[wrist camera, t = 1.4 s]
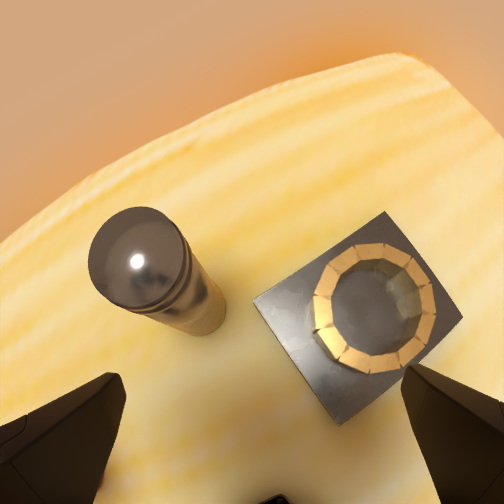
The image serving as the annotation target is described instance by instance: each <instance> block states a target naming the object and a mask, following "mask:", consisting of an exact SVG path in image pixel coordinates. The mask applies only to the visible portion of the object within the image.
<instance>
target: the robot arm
mask: <svg viewBox="0 0 504 504" xmlns="http://www.w3.org/2000/svg"><path fill="white" fill-rule="evenodd" d="M401 393H402V397H403V400H404V403H405V406H406V410H407V413H408V417H409V420H410V424H411V427H412V430H413V432H414V435H415V437H416V440H417V442H418V444H419V447H420V449H421V452H422V454H423V457H424V459H425V462H426V464H427V467H428V470H429V472H430V475H431V477H432V480H433V483H434V485H435V488H436V491H437V494H438V496H439V499H440V502H441V504H504V403H503V402H501V401H500V402H499V400H497V399H494V398H492V397H490V396H488V395H485V394H483V393H481V392H479V391H477V390H474V389H472V388H470V387H468V386H466V385H464V384H461V383H459V382H457V381H455V380H453V379H451V378H448V377H446V376H444V375H442V374H440V373H438V372H436V371H433V370H431V369H429V368H427V367H425V366H423V365H421V364H412V365H408V366H407V367H406V369H405V373H404V376H403V380H402V384H401ZM125 402H126V392H125V389H124V386H123V383H122V379H121V377H120V375H119V374H118V373H111V372H107V373H105V374H103V375H101V376H99V377H97V378H95V379H94V380H92V381H90V382H88V383H86V384H84V385H82V386H80V387H79V388H77V389H75V390H73V391H71V392H69V393H67V394H65V395H63V396H61V397H59V398H58V399H56V400H54V401H52V402H50V403H48V404H46V405H44V406H42V407H40V408H38V409H36V410H34V411H32V412H30V413H28V415H24V416H22V417H20V418H18V419H16V420H14V421H12V422H9V423H7V424H5V425H2V426H0V504H93V502H94V499H95V496H96V493H97V490H98V487H99V484H100V481H101V478H102V475H103V473H104V470H105V467H106V464H107V461H108V459H109V456H110V453H111V451H112V448H113V445H114V443H115V440H116V437H117V433H118V429H119V425H120V421H121V417H122V413H123V409H124V405H125ZM277 499H282V501H280V502H279V501H277ZM259 504H291V503H290V502H289V501H288V499H287V498H286V497H285V496H284V495H281V494H278V495H276V496H274V497H272V498H270V499H268V500H265V501H263V502H261V503H259Z"/></svg>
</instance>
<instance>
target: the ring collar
mask: <svg viewBox="0 0 504 504" xmlns="http://www.w3.org/2000/svg"><path fill="white" fill-rule="evenodd" d="M253 303H254V305H255V306H256V308H257V309H258V311H259V312H260V314H261V315H262V317H263V318H264V320H265V321H266V323H267V324H268V326H269V327H270V329H271V330H272V332H273V333H274V334H275V336H276V337H277V339H278V340H279V342H280V343H281V345H282V346H283V348H284V349H285V351H286V352H287V354H288V355H289V357H290V358H291V359H292V361H293V362H294V364H295V365H296V367H297V368H298V370H299V371H300V373H301V374H302V376H303V377H304V378H305V380H306V381H307V383H308V384H309V386H310V387H311V388H312V390H313V391H314V393H315V394H316V396H317V397H318V399H319V400H320V401H321V403H322V404H323V406H324V407H325V408H326V410H327V411H328V413H329V414H330V416H331V417H332V418H333V420H334V421H335V423H336V424H337V425H338V426H340V425H341V424H343V423H344V422H346V421H347V420H349V419H350V418H351V417H353V416H354V415H355V414H357V413H358V412H359V411H361V410H362V409H363V408H365V407H366V406H367V405H369V404H370V403H371V402H373V401H374V400H375V399H376V398H378V397H379V396H380V395H381V394H383V393H384V392H385V391H386V390H388V389H389V388H390V387H391V386H392V385H394V384H395V383H396V382H397V381H398V380H399V379H401V378H402V377H403V376H404V373H405V369H406V367H407V366H408V365H412V364H417V363H419V362H420V361H421V360H422V359H423V358H424V357H425V356H426V355H427V354H428V353H429V352H430V351H431V350H432V349H433V348H434V347H435V346H436V345H437V344H438V343H439V342H440V341H441V340H442V339H443V338H444V337H445V336H446V335H447V334H448V333H449V332H450V331H451V330H452V329H453V328H454V327H455V326H456V325H457V323H458V322H459V321H460V320H461V319H462V318H463V316H462V315H461V313H460V311H459V310H458V308H457V307H456V305H455V304H454V302H453V301H452V299H451V298H450V296H449V295H448V293H447V292H446V290H445V289H444V287H443V286H442V285H441V283H440V282H439V280H438V279H437V278H436V276H435V275H434V273H433V272H432V271H431V269H430V268H429V266H428V265H427V264H426V262H425V261H424V260H423V258H422V257H421V256H420V254H419V253H418V252H417V250H416V249H415V248H414V246H413V245H412V244H411V243H410V241H409V240H408V239H407V238H406V236H405V235H404V234H403V233H402V231H401V230H400V229H399V228H398V226H397V225H396V224H395V223H394V221H393V220H392V219H391V218H390V217H389V215H388V214H387V213H386V212H385V211H384V212H383V213H381V214H380V215H378V216H377V217H376V218H374V219H373V220H371V221H370V222H368V223H367V224H366V225H364V226H363V227H361V228H360V229H358V230H357V231H356V232H354V233H353V234H351V235H350V236H348V237H347V238H346V239H344V240H343V241H341V242H340V243H338V244H337V245H335V246H334V247H332V248H331V249H329V250H328V251H327V252H325V253H324V254H322V255H321V256H319V257H318V258H316V259H315V260H313V261H312V262H310V263H309V264H307V265H306V266H304V267H303V268H301V269H300V270H298V271H297V272H295V273H294V274H292V275H291V276H289V277H288V278H286V279H285V280H283V281H282V282H280V283H278V284H277V285H275V286H274V287H272V288H271V289H269V290H268V291H266V292H265V293H263V294H261V295H260V296H258V297H257V298H255V299H254V300H253Z"/></svg>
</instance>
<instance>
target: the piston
mask: <svg viewBox="0 0 504 504" xmlns="http://www.w3.org/2000/svg"><path fill="white" fill-rule="evenodd" d="M88 269H89V274H90V278H91V280H92V282H93V285H94V286H95V288H96V289H97V290H98V291H99V293H100V294H102V295H103V296H104V297H106V298H107V299H108V300H109V301H110V302H111V303H113V304H115V305H117V306H119V307H121V308H124V309H126V310H128V311H130V312H133V313H135V314H140V315H144V316H147V317H149V318H151V319H153V320H156V321H158V322H161V323H163V324H165V325H168V326H170V327H173V328H175V329H178V330H180V331H183V332H185V333H188V334H190V335H194V336H203V335H207V334H210V333H212V332H213V331H215V330H216V329H217V328H218V327H219V326H220V325H221V323H222V322H223V320H224V317H225V314H226V303H225V299H224V297H223V295H222V293H221V292H220V291H219V289H218V288H217V287H216V285H215V284H214V282H213V281H212V280H211V278H210V277H209V275H208V274H207V273H206V271H205V270H204V269H203V267H202V266H201V264H200V263H199V261H198V260H197V259H196V257H195V256H194V254H193V253H192V251H191V248H190V246H189V244H188V242H187V241H186V239H185V238H184V236H183V235H182V233H181V232H180V230H179V229H178V228H177V226H176V225H175V224H174V223H173V222H172V221H171V220H170V219H168V218H167V217H166V216H165V215H164V214H163V213H161V212H160V211H158V210H156V209H153V208H149V207H132V208H128V209H125V210H123V211H121V212H119V213H117V214H115V215H114V216H112V217H111V218H110V219H108V220H107V221H106V222H105V223H104V224H103V225H102V227H101V228H100V229H99V231H98V232H97V234H96V235H95V237H94V239H93V242H92V244H91V247H90V251H89V256H88Z"/></svg>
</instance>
